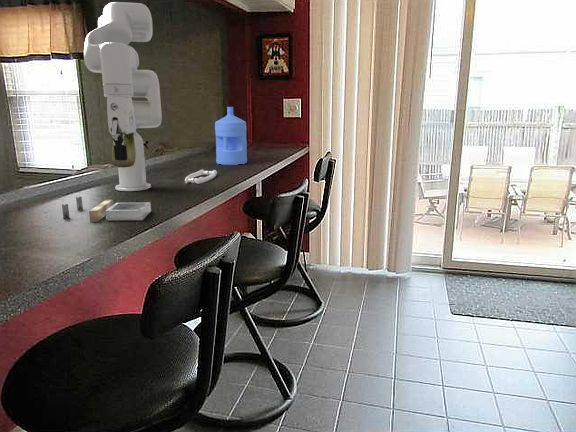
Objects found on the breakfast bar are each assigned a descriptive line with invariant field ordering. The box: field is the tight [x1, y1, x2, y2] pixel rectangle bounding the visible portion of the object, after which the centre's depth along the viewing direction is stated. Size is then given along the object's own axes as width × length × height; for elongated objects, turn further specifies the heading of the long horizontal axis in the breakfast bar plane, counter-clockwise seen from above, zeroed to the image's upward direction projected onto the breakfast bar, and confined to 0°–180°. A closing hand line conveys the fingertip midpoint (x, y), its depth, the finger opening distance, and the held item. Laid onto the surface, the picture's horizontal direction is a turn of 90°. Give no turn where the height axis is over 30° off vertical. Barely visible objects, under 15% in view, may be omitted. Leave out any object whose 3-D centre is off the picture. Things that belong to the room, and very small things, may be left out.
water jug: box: [214, 106, 248, 166], centre depth 233 cm, size 16×16×28 cm
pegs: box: [61, 195, 84, 220], centre depth 136 cm, size 12×2×4 cm, turn 3°
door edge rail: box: [88, 199, 114, 223], centre depth 135 cm, size 14×2×3 cm, turn 3°
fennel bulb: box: [111, 132, 136, 168], centre depth 129 cm, size 6×5×12 cm
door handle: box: [184, 169, 218, 185], centre depth 194 cm, size 3×10×25 cm
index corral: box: [105, 201, 152, 222], centre depth 134 cm, size 10×10×3 cm
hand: (124, 158), depth 130 cm, fingers closed on fennel bulb, 4 cm apart
